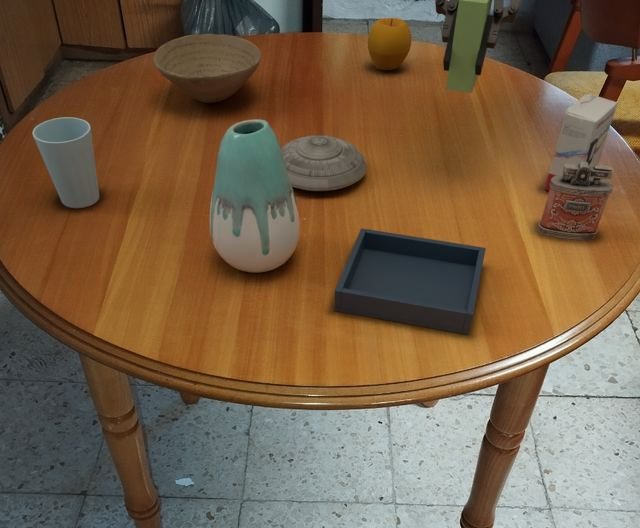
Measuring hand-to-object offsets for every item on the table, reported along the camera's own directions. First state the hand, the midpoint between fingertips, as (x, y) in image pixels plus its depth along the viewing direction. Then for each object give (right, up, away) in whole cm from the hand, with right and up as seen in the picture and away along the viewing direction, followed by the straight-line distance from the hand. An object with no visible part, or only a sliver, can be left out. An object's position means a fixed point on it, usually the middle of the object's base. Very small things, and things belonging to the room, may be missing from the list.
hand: (462, 67), depth 91 cm
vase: (-28, -26, 0) cm, 38 cm away
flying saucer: (-19, -9, +15) cm, 26 cm away
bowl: (-39, +11, +33) cm, 52 cm away
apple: (-6, +22, +43) cm, 49 cm away
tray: (-8, -31, -4) cm, 32 cm away
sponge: (+1, +1, +5) cm, 5 cm away
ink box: (+19, -11, +14) cm, 26 cm away
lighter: (+16, -21, +5) cm, 27 cm away
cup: (-55, -15, +9) cm, 57 cm away
